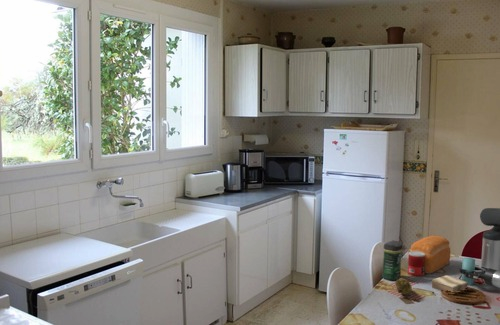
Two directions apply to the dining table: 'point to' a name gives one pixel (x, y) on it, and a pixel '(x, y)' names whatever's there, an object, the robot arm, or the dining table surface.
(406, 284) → the potato
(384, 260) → the coffee jar
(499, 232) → the robot arm
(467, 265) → the pillar
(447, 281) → the plinth
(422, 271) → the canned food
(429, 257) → the bread
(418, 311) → the dining table surface
